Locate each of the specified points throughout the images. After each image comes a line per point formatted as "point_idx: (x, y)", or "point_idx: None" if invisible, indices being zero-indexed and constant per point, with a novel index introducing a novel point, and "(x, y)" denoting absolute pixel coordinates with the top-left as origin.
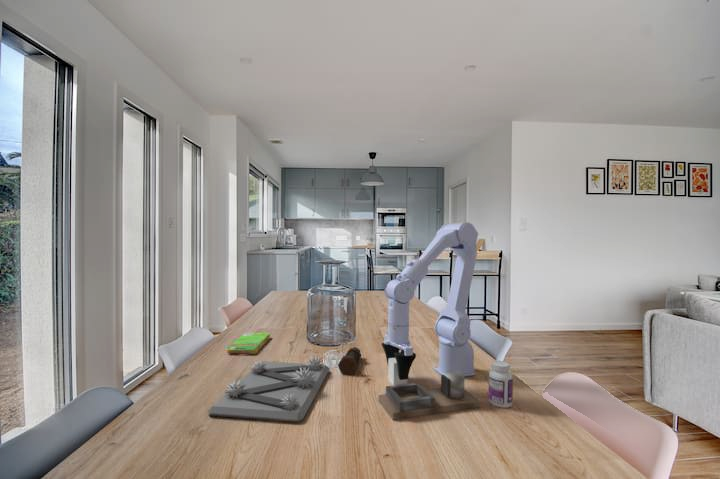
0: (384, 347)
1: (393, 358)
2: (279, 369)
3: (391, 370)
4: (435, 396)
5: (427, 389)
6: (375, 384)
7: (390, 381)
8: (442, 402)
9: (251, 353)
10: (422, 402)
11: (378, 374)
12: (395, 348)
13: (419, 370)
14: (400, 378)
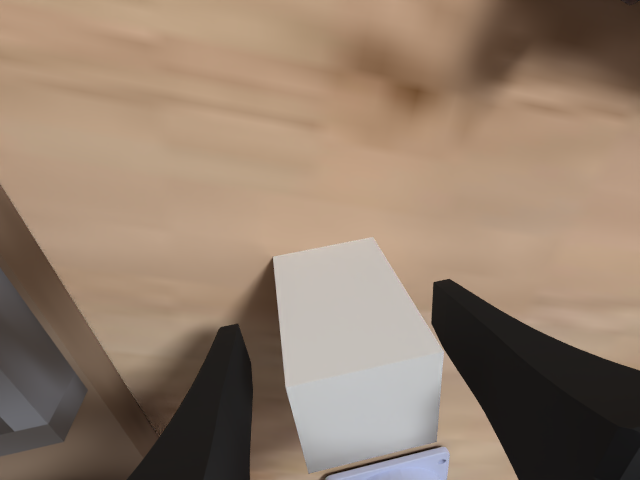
0: (597, 413)
1: (422, 389)
2: None
3: (332, 305)
4: (16, 454)
5: (116, 431)
6: (305, 132)
7: (329, 248)
8: None
9: None
10: None
11: (476, 187)
12: (539, 476)
13: (450, 397)
14: (217, 336)
